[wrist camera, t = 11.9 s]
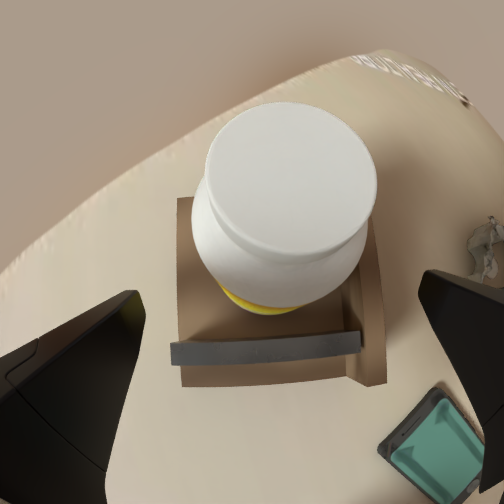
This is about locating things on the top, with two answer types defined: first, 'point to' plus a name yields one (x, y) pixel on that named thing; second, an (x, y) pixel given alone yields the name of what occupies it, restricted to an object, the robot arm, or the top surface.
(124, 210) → the top surface
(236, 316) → the brown piece
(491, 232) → the egg carton
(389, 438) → the smartphone
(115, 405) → the robot arm
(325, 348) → the gray flat bar
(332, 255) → the supplement bottle
